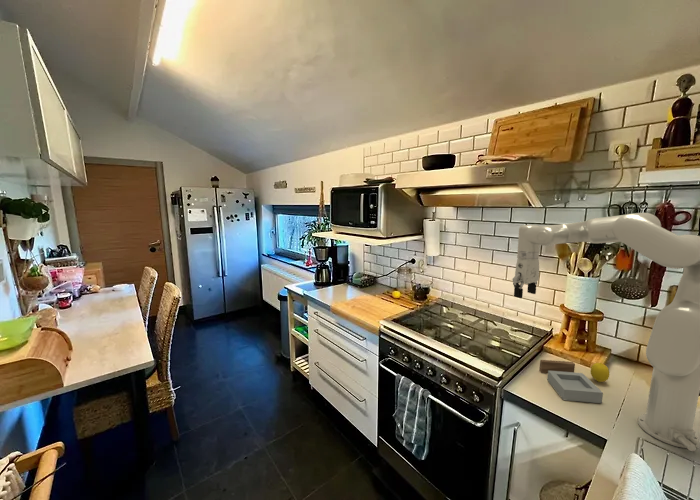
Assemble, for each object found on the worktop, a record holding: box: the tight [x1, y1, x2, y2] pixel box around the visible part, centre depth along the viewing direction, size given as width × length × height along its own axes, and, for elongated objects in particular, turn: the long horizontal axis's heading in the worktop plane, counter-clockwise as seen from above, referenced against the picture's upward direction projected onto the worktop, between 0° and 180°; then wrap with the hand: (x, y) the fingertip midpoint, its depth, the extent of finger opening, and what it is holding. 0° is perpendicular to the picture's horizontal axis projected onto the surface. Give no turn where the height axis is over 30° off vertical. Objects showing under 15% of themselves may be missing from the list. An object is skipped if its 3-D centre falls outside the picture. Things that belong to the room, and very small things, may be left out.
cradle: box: [546, 371, 604, 404], centre depth 108 cm, size 12×12×4 cm
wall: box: [538, 359, 576, 374], centre depth 120 cm, size 2×12×5 cm, turn 80°
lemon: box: [590, 362, 610, 383], centre depth 113 cm, size 6×6×8 cm
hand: (524, 295), depth 123 cm, fingers open, 9 cm apart
